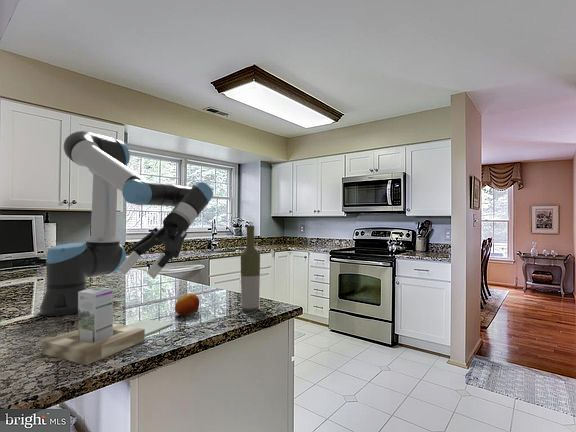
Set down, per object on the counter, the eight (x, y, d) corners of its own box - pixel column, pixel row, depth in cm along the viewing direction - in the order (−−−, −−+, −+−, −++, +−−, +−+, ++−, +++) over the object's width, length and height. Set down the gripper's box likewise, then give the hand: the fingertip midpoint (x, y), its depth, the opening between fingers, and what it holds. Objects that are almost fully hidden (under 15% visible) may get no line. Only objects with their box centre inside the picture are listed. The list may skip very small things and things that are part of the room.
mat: (115, 331, 94) (115, 329, 94) (145, 320, 104) (145, 319, 104) (143, 336, 90) (143, 334, 90) (172, 324, 100) (172, 323, 100)
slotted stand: (41, 353, 79) (42, 340, 79) (102, 332, 93) (102, 321, 93) (86, 365, 72) (87, 351, 72) (144, 340, 87) (144, 329, 87)
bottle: (242, 307, 120) (242, 225, 121) (261, 307, 120) (261, 225, 121) (238, 312, 113) (238, 225, 114) (258, 312, 113) (258, 225, 114)
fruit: (197, 314, 106) (186, 292, 107) (178, 325, 108) (167, 304, 109) (208, 307, 114) (197, 287, 115) (190, 318, 116) (180, 298, 117)
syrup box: (114, 344, 85) (114, 287, 85) (94, 352, 79) (94, 292, 79) (97, 341, 87) (97, 286, 87) (76, 349, 81) (77, 290, 81)
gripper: (213, 228, 100) (172, 286, 87) (162, 227, 114) (120, 277, 101) (200, 210, 96) (154, 268, 83) (148, 211, 109) (102, 261, 97)
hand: (135, 273), depth 92 cm, fingers open, 13 cm apart
